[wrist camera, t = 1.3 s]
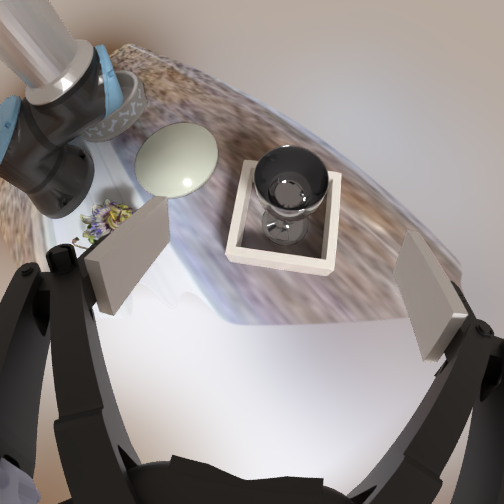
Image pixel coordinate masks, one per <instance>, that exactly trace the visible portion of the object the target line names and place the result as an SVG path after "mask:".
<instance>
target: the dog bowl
mask: <svg viewBox="0 0 504 504" xmlns="http://www.w3.org/2000/svg"><path fill="white" fill-rule="evenodd" d="M114 72H115V74H116V77H117V79H118V82H119V85H120V87H121V90H122V93H123V96H124V101H123V104H122V106H121V107H120V108H119V109H117V110H116V111H114V112H113V113H111V114H110V115H109V116H108V117H107V118H106V119H103V120H102V121H100V122H99V123H97V124H95V125H94V126H92V127H91V128H89V129H88V130H86V131H85V132H83V133H82V134H80V136H81V137H82V138H83V139H84V140H86V141H89V142H103V141H107V140H110V139H112V138H114V137H116V136H118V135H120V134H122V133H123V132H124V131H126V130H127V129H128V128H130V127H131V126H132V125H133V124H134V123H135V122H136V121H137V120H138V119H139V117H140V116H141V115H142V113H143V112H144V110H145V108H146V106H147V104H148V102H147V99H146V97H145V93H144V87H143V84H144V83H143V82H142V81H141V80H140V79H139V78H138V77H137V76H136V75H135V74H134V73H132V72H130V71H125V70H120V71H114Z"/></svg>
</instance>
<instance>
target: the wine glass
mask: <svg viewBox="0 0 504 504" xmlns="http://www.w3.org/2000/svg"><path fill="white" fill-rule="evenodd" d="M254 183H255V189H256V193H257V197H258V199H259V201H260V203H261V205H262V207H263V208H264V209H265V213H264V215H263V218H262V228H263V231H264V233H265V235H266V236H267V237H268V238H269V239H270V240H271V241H272V242H274V243H276V244H279V245H292V244H295V243H297V242H299V241H300V240H301V239H302V238H303V237H304V236H305V235H306V233H307V230H308V225H309V223H308V216H310V215H311V214H312V213H313V212H314V211H315V210H316V209H317V208H318V207H319V205H320V204H321V202H322V200H323V199H324V196H325V194H326V192H327V188H328V184H329V175H328V171H327V168H326V166H325V164H324V162H323V161H322V160H321V159H320V157H319V156H317V155H316V154H315V153H314V152H312V151H310V150H309V149H306V148H304V147H300V146H295V145H284V146H279V147H276V148H273V149H271V150H270V151H268V152H267V153H265V154H264V155H263V156H262V157H261V158H260V160H259V161H258V163H257V165H256V168H255V172H254Z"/></svg>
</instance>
